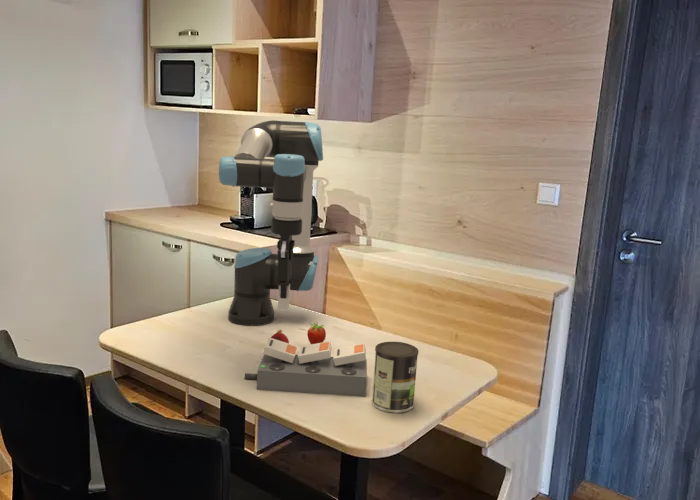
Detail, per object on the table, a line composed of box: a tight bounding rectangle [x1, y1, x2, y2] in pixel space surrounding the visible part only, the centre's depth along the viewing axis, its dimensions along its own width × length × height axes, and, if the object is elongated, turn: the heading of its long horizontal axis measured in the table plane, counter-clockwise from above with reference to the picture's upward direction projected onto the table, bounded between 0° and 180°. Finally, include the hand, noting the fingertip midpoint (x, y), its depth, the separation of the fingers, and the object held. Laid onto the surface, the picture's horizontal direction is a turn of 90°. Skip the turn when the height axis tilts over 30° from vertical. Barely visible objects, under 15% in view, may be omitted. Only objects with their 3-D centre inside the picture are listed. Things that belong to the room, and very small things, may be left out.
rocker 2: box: [297, 340, 333, 364], centre depth 163 cm, size 7×8×2 cm
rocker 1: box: [262, 336, 299, 363], centre depth 163 cm, size 7×8×2 cm
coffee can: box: [371, 341, 419, 414], centre depth 152 cm, size 10×10×14 cm
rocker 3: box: [333, 342, 367, 366], centre depth 163 cm, size 7×8×2 cm
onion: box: [270, 329, 290, 344], centre depth 177 cm, size 6×6×8 cm
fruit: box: [307, 322, 327, 345], centre depth 186 cm, size 5×5×8 cm
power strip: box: [244, 354, 368, 397], centre depth 162 cm, size 12×31×6 cm, turn 89°
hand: (283, 309), depth 161 cm, fingers closed
